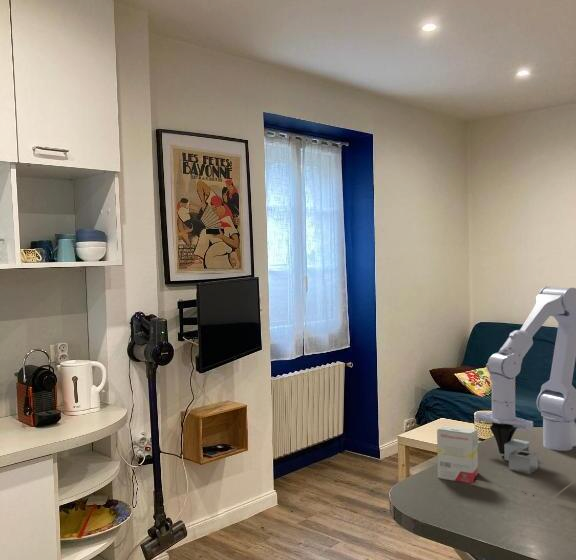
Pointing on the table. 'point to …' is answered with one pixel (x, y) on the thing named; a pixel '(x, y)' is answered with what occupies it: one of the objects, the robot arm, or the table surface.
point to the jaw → (523, 461)
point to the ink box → (457, 453)
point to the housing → (515, 447)
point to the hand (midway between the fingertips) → (503, 453)
